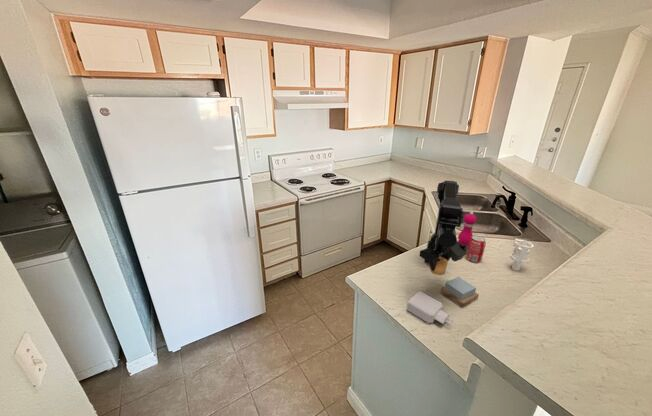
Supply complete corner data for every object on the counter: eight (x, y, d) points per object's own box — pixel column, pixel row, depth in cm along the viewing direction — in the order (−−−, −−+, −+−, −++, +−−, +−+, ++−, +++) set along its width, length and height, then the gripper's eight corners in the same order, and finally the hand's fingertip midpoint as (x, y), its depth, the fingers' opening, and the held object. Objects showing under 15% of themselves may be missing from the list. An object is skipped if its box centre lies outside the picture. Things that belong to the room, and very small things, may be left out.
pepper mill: (458, 240, 151) (465, 208, 143) (472, 244, 147) (480, 211, 140) (455, 245, 146) (462, 212, 138) (469, 249, 142) (478, 215, 134)
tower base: (439, 293, 110) (441, 288, 109) (454, 286, 115) (456, 280, 114) (461, 309, 102) (463, 303, 101) (477, 300, 107) (478, 294, 106)
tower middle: (444, 288, 109) (445, 282, 108) (457, 282, 113) (458, 276, 111) (461, 300, 103) (463, 294, 101) (474, 294, 106) (476, 287, 105)
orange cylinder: (426, 268, 108) (428, 258, 107) (436, 264, 111) (438, 254, 109) (438, 276, 104) (440, 266, 102) (448, 272, 106) (451, 262, 105)
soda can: (476, 255, 137) (481, 234, 132) (483, 263, 130) (490, 241, 126) (462, 255, 137) (467, 234, 132) (469, 263, 130) (475, 241, 125)
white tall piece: (507, 262, 131) (515, 235, 125) (524, 267, 127) (534, 240, 121) (506, 269, 126) (515, 241, 120) (524, 275, 122) (534, 246, 116)
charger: (445, 335, 90) (406, 310, 101) (456, 321, 96) (418, 299, 106) (447, 324, 89) (407, 301, 99) (459, 310, 94) (420, 290, 105)
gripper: (446, 250, 90) (438, 287, 96) (480, 237, 99) (470, 272, 105) (421, 236, 99) (415, 271, 105) (453, 226, 108) (446, 258, 114)
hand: (437, 268), depth 107 cm, fingers closed on orange cylinder, 6 cm apart
